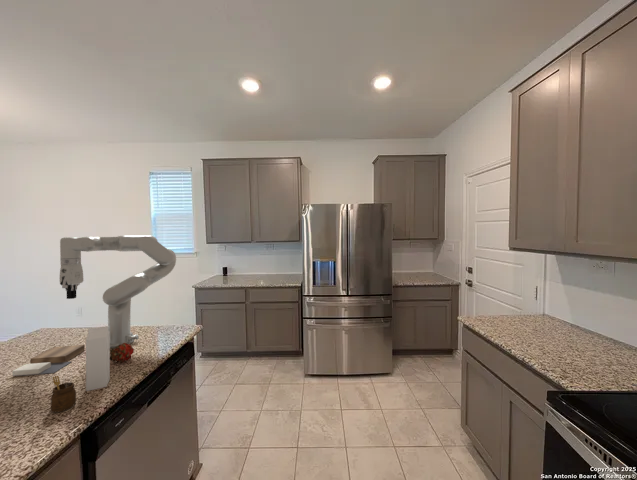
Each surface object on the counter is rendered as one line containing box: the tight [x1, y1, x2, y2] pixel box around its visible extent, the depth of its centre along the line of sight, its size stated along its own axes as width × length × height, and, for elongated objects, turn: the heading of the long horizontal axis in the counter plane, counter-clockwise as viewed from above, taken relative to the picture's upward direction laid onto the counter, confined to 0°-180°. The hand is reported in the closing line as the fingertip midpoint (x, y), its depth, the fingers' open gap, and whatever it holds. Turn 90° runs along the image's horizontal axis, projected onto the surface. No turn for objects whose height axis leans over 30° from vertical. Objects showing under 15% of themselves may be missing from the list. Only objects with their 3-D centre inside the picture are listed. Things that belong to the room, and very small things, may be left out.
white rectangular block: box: [11, 362, 51, 377], centre depth 110 cm, size 9×6×2 cm, turn 101°
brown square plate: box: [29, 344, 86, 364], centre depth 123 cm, size 13×13×3 cm
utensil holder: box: [50, 370, 77, 414], centre depth 86 cm, size 6×6×12 cm
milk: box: [85, 325, 111, 392], centre depth 100 cm, size 6×6×22 cm
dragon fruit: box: [110, 343, 135, 364], centre depth 120 cm, size 8×8×12 cm
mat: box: [21, 361, 72, 377], centre depth 112 cm, size 11×10×1 cm
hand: (71, 298), depth 132 cm, fingers closed
